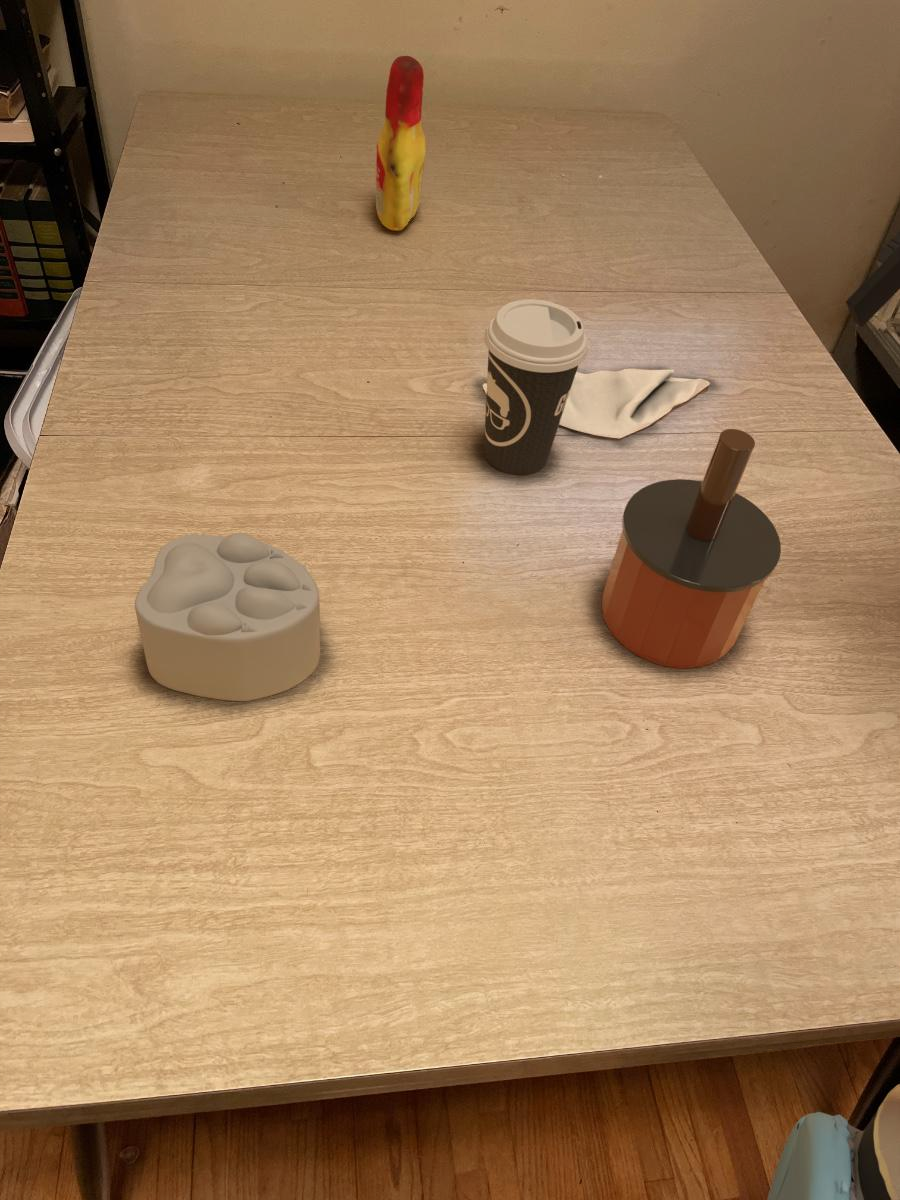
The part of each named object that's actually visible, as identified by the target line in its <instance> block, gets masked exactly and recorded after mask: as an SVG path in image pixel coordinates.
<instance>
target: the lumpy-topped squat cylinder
mask: <svg viewBox="0 0 900 1200" xmlns="http://www.w3.org/2000/svg"><path fill="white" fill-rule="evenodd" d="M320 606H321V605H320V591H319V587H318V585H317V583H316V580H315V579H314V577H313V575H312V574H311V572H310V571H309V570H308V569H307V568H306V567H305V566H304V565H303V564H302V563H301V562H300V561H298V560H297V559H296V558H294V557H293V556H291V555H290V554H288V553H286V552H285V551H283V550H281V549H280V548H278V547H276V546H273V545H269V544H267V543H263V542H262V541H261V540H260V539H258V538H257V537H255V536H253V535H251V534H248V533H243V532H239V533H237V532H236V533H232V534H229V535H227V536H219V535H210V534H189V535H183V536H180V537H177V538H175V539H172V540H171V541H169V542H167V543H165V544H164V545H163V546H162V547H161V548H160V549H159V550H158V552H157V554H156V557H155V559H154V564H153V568H152V571H151V574H150V575H149V577H148V578H147V580H146V582H145V583H144V584H143V586H141V588H139V591H138V592H137V594H136V596H135V599H134V611H135V614H136V615H135V616H136V620H137V624H138V629H139V634H140V639H141V643H142V648H143V652H144V657H145V662H146V666H147V670H148V672H149V675H150V677H151V678H152V679H153V680H154V681H156V682H157V683H158V684H159V685H161V686H163V687H165V688H168V689H169V690H172V691H176V692H180V693H184V694H188V695H192V696H196V697H201V698H208V699H214V700H220V701H221V700H222V701H231V702H233V701H234V702H248V701H254V700H259V699H262V698H267V697H270V696H275V695H278V694H281V693H283V692H286V691H288V690H290V689H292V688H294V687H296V686H297V685H299V684H301V683H302V682H304V681H306V679H308V678H309V677H310V676H311V675H312V674H313V673H314V672H315V670H316V669H317V668H318V665H319V663H320V658H321V620H320V619H321V617H320V612H321V611H320V610H321V609H320Z"/></svg>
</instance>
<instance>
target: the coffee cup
mask: <svg viewBox="0 0 900 1200" xmlns="http://www.w3.org/2000/svg"><path fill="white" fill-rule="evenodd" d="M483 340H484V344H485V346H486V348H487V349H488V352H487V353H488V356H487V357H488V358H487V378H486V383H487V395H486V397H485V399H486V400H485V420H484V437H483V438H484V439H483V456H484V457H485V460H486V461H487V462H488V463H489V464H490V465H491V466H492V467H493V468H495V469H497V470H498V471H501V472H503V473H506V474H510V475H515V476H523V475H525V476H526V475H531V474H534V473H537V472H539V471H541V470H542V469H543V468H544V467H545V466H546V465H547V462H548V459H549V456H550V453H551V450H552V448H553V444H554V441H555V438H556V435H557V432H558V430H559V429H558V428H559V426H560V425H559V423H560V420H561V417H562V414H563V411H564V408H565V404H566V401H567V398H568V395H569V392H570V389H571V386H572V383H573V380H574V377H575V374H576V372H578V368H579V366H580V365H581V364H582V363H583V362H584V361H585V360H586V358H587V356H588V353H589V343H588V338H587V334H586V332H585V330H584V324H583V321H582V320H581V318H580V317H579V316H578V315H577V314H576V313H575V312H574V311H572V310H571V309H569V308H567V307H565V306H563V305H561V304H558V303H556V302H553V301H549V300H542V299H535V298H534V299H518V300H514V301H511V302H509V303H506V304H505V305H503V306H502V307H501V308H499V309H498V311H497V313H496V315H494V316H493V317H492V319H490V322H489V323H488V325H487V327H486V329H485V332H484V336H483Z"/></svg>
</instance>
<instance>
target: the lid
mask: <svg viewBox="0 0 900 1200" xmlns="http://www.w3.org/2000/svg"><path fill="white" fill-rule="evenodd" d="M755 447H756V441H755V439H754V438H753V436H751V435H750V433H748V432H746V431H743V430H742V429H738V428H727V429H724V430H722V431H721V432H720V433H719V435H718V438H717V441H716V444H715V447H714V449H713V452H712V454H711V457H710V460H709V463H708V464H707V468H706V471H705V473H704V475H703V479H702V480H695V479H685V478H683V479H681V478H678V479H677V478H675V479H666V480H660V481H656V482H653V483H650V484H648V485H646V486H644V487H642V488H640V489H639V490H637V492H635V493H634V494H633V495H631V497H629V500H628V502H627V503H626V505H625V508H624V510H623V514H622V520H621V527H622V528H621V529H622V530H623V532H624V536H625V539H626V541H627V543H628V545H629V547H630V548H631V550H632V551H633V552H634V554H635V555H636V556H637V557H638V558H639V559H640V560H641V561H642V562H643V563H644V564H645V565H646V566H647V567H649V568H650V569H651V570H653V571H654V572H656V573H657V574H659V575H660V576H662V577H664V578H666V579H668V580H670V581H672V582H674V583H677V584H679V585H682V586H685V587H688V588H691V589H696V590H700V591H707V592H718V593H727V592H737V591H742V590H746V589H749V588H752V587H754V586H756V585H758V584H760V583H762V582H763V581H764V580H765V581H766V580H767V579H768V578H769V577H770V576H771V575H772V574H773V573H774V571H775V570H776V568H777V566H778V563H779V562H780V559H781V553H782V543H781V540H780V536H779V533H778V531H777V529H776V527H775V525H774V523H773V522H772V521H771V519H770V518H769V517H768V516H767V515H766V514H765V512H764V511H763V510H761V508H759V507H758V506H757V505H756V504H755V503H753V502H752V501H751V500H749V499H747V498H746V497H744V496H742V494H740V493H737V490H738V488H739V485H740V483H741V480H742V478H743V476H744V474H745V470H746V468H747V466H748V463H749V461H750V459H751V457H752V453H753V451H754V448H755ZM765 581H764V582H765Z"/></svg>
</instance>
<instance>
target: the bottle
mask: <svg viewBox="0 0 900 1200" xmlns="http://www.w3.org/2000/svg"><path fill="white" fill-rule="evenodd" d="M389 69H390V70H389V76H388V80H387V86H386V96H385V112H384V115H385V116H384V117H385V119H384V120H385V121H384V125H383V127H382V129H381V131H380V134H379V137H378V139H377V143H376V161H375V163H376V165H375V166H376V167H375V171H376V173H375V209H376V214H377V218H378V219H379V221H380V223H381V225H383V226H384V227H385V228H386V229H388V230H391V231H396V232H398V231H399V232H400V231H402V230H404V228H405V227H406V226H408V224H409V223H410V222H409V221H411V220H412V219H413V218H414V217H415V215H416V214H417V210H418V208H417V207H419V205H420V198H421V190H422V182H423V175H424V167H425V160H426V152H427V151H426V150H427V147H426V146H427V145H426V144H427V143H426V136H425V133H424V131H423V129H422V112H423V111H422V106H423V95H424V92H423V91H424V89H423V88H424V79H425V75H424V73H425V72H424V69H423V67H422V65H421V63H420V62H419V61H418V60H417V59H416V58H414V57H412V56H410V55H401V56H398V57H396V58H395V59H394V61H393V62H392V63H391V66H390V68H389ZM412 217H413V218H412ZM411 218H412V219H411ZM410 219H411V220H410ZM381 221H382V222H381ZM408 222H409V223H408ZM406 223H407V224H406ZM402 227H403V228H402ZM395 228H398V229H395Z"/></svg>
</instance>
